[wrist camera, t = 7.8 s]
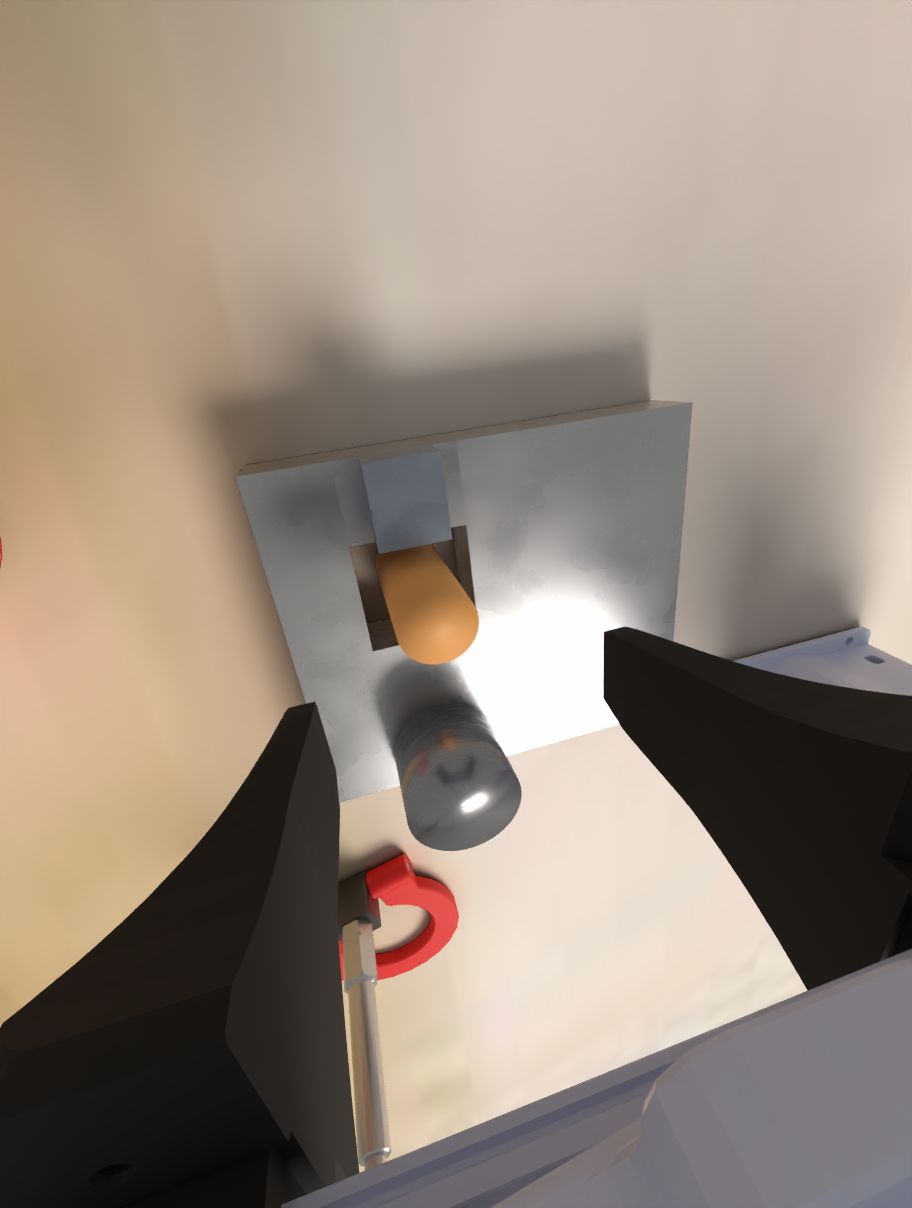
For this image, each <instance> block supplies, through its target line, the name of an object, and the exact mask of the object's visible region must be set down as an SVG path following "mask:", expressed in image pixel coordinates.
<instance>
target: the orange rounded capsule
mask: <svg viewBox="0 0 912 1208" xmlns="http://www.w3.org/2000/svg"><path fill="white" fill-rule="evenodd" d="M376 570H377V574H378V578H379V581H380V584H381V587H382V591H383V594H384V597H385V601H386V604H387V607H388V611H389V614H390V617H391V621H392V624H393V627H394V631H395V634H396V637H397V641H398V643H399V645H400V647H401V649H402V650H403V651H404V653H405V654H406V655H408V656H409V657H410V658H412V659H413V660H415V661H417V662H420V663H424V664H443V663H446V662H449V661H452V660H454V659H456V658H458V657H459V656H461V655H462V654H463V653H464V652H466V651H467V650H468V648H469V647H470V646H471V645H472V643H473V642H474V640H475V638H476V635H477V633H478V628H479V616H478V612H477V609H476V607H475V605H474V604H473V602H472V601H471V599H470V598H469V596H468V595H467V594H466V592H465V591H464V589H463V588H462V586H461V585H460V584H459V582H458V581H457V579H456V578H455V576H454V575H453V574H452V572H451V571H450V569H449V568H448V566H447V565H446V563H445V562H444V561H443V559H442V558H441V556H440V555H439V553H438V552H437V551H436V549H435V548H434V546H433V545H432V544H427V545H422V546H417V547H412V548H407V549H402V550H396V551H391V552H386V553H381V554H379V552H378V555H377V559H376Z"/></svg>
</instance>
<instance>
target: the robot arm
mask: <svg viewBox="0 0 912 1208" xmlns="http://www.w3.org/2000/svg"><path fill="white" fill-rule="evenodd" d="M869 638H870V630H869V629H867V628H864V627H857V628H853V629H850V630H846V631H842V632H839V633H835V634H831V635H827V636H824V637H820V638H816V639H812V640H809V641H805V642H801V643H798V644H794V645H790V646H786V647H783V648H779V649H775V650H771V651H768V652H764V653H760V654H756V655H753V656H749V657H745V658H742V659H738V660H734V661H730V660H727V659H724V658H721V657H717V656H714V655H711V654H708V653H705V652H702V651H699V650H696V649H693V648H690V647H688V646H685V645H682V644H679V643H676V642H673V641H670V640H667V639H665V638H662V637H659V636H656V635H653V634H650V633H647V632H644V631H641V630H637V629H634V628H630V627H626V626H625V627H621V628H617V629H613V630H609V631H605V632H604V645H603V699H604V700H605V702H606V703H607V705H608V707H609V708H610V710H611V712H612V713H613V715H614V716H615V718H616V719H617V721H618V722H619V724H620V725H621V727H622V728H623V730H624V731H625V732H626V733H627V735H628V736H629V737H630V738H631V739H632V740H633V742H634V743H635V744H636V745H637V746H638V748H639V749H640V750H641V751H642V752H643V753H644V755H645V756H646V757H647V758H648V759H649V760H650V761H651V763H652V764H653V765H654V766H655V767H656V768H657V769H658V771H659V772H660V773H661V774H662V775H663V776H664V778H665V779H666V780H667V781H668V782H669V783H670V784H671V786H672V787H673V788H674V789H675V790H676V791H677V792H678V794H679V795H680V796H681V797H682V798H683V800H684V801H685V802H686V803H687V805H688V806H689V807H690V808H691V810H692V811H693V812H694V813H695V815H696V816H697V817H698V819H699V820H700V822H701V823H702V825H703V826H704V827H705V829H706V830H707V832H708V833H709V834H710V836H711V837H712V839H713V840H714V842H715V843H716V844H717V846H718V847H719V849H720V850H721V852H722V853H723V855H724V856H725V858H726V859H727V861H728V862H729V864H730V865H731V867H732V868H733V870H734V871H735V873H736V874H737V876H738V877H739V879H740V880H741V882H742V883H743V885H744V886H745V888H746V889H747V891H748V892H749V894H750V895H751V897H752V899H753V900H754V902H755V903H756V905H757V907H758V908H759V910H760V911H761V913H762V915H763V916H764V918H765V919H766V921H767V923H768V924H769V926H770V927H771V929H772V931H773V932H774V934H775V935H776V937H777V939H778V940H779V942H780V944H781V946H782V947H783V949H784V951H785V952H786V954H787V956H788V958H789V959H790V961H791V963H792V964H793V966H794V968H795V970H796V971H797V973H798V975H799V976H800V978H801V980H802V982H803V983H804V985H805V987H806V988H807V990H808V991H806V992H804V993H801V994H799V995H796V996H794V997H791V998H789V999H786V1000H784V1001H781V1002H779V1003H777V1004H774V1005H772V1006H769V1007H767V1008H764V1009H762V1010H759V1011H757V1012H754V1013H752V1014H750V1015H747V1016H745V1017H742V1018H740V1019H737V1020H735V1021H732V1022H730V1023H727V1024H725V1025H722V1026H720V1027H718V1028H715V1029H713V1030H710V1031H708V1032H705V1033H703V1034H700V1035H698V1036H695V1037H693V1038H690V1039H688V1040H686V1041H683V1042H681V1043H678V1044H676V1045H673V1046H671V1047H668V1048H666V1049H663V1050H661V1051H658V1052H656V1053H654V1054H651V1055H649V1056H646V1057H644V1058H641V1059H639V1060H636V1061H634V1062H631V1063H629V1064H626V1065H624V1066H622V1067H619V1068H617V1069H614V1070H612V1071H609V1072H607V1073H604V1074H602V1075H599V1076H597V1077H594V1078H592V1079H590V1080H587V1081H585V1082H582V1083H580V1084H577V1085H575V1086H572V1087H570V1088H567V1089H565V1090H562V1091H560V1092H558V1093H555V1094H553V1095H550V1096H548V1097H545V1098H543V1099H540V1100H538V1101H535V1102H533V1103H530V1104H528V1105H526V1106H523V1107H521V1108H518V1109H516V1110H513V1111H511V1112H508V1113H506V1114H503V1115H501V1116H498V1117H496V1118H494V1119H491V1120H489V1121H486V1122H484V1123H481V1124H479V1125H476V1126H474V1127H471V1128H469V1129H467V1130H464V1131H462V1132H459V1133H457V1134H454V1135H452V1136H449V1137H447V1138H444V1139H442V1140H439V1141H437V1142H435V1143H432V1144H430V1145H427V1146H425V1147H422V1148H420V1149H417V1150H415V1151H412V1152H410V1153H407V1154H405V1155H403V1156H400V1157H398V1158H395V1159H393V1160H390V1161H388V1162H385V1163H383V1164H380V1165H378V1166H375V1167H373V1168H371V1169H368V1170H366V1171H363V1172H361V1173H359V1165H358V1156H357V1146H356V1136H355V1126H354V1117H353V1107H352V1097H351V1086H350V1075H349V1064H348V1053H347V1042H346V1030H345V1018H344V1005H343V993H342V981H341V967H340V952H339V938H338V906H337V905H338V868H339V828H340V805H339V794H338V784H337V775H336V768H335V764H334V761H333V758H332V754H331V751H330V748H329V745H328V741H327V738H326V735H325V731H324V728H323V725H322V721H321V718H320V715H319V711H318V708H317V705H316V702H312V703H307V704H303V705H299V706H295V707H291V708H288V709H287V711H286V712H285V714H284V716H283V717H282V719H281V721H280V723H279V724H278V726H277V728H276V730H275V732H274V733H273V735H272V737H271V739H270V740H269V742H268V744H267V746H266V747H265V749H264V751H263V752H262V754H261V756H260V757H259V759H258V761H257V762H256V764H255V765H254V767H253V769H252V770H251V772H250V773H249V775H248V777H247V778H246V780H245V781H244V783H243V784H242V785H241V787H240V788H239V790H238V791H237V793H236V794H235V796H234V797H233V798H232V800H231V801H230V803H229V804H228V806H227V807H226V809H225V810H224V811H223V813H222V814H221V815H220V817H219V818H218V819H217V821H216V822H215V823H214V824H213V826H212V827H211V828H210V829H209V831H208V832H207V833H206V834H205V835H204V837H203V838H202V839H201V840H200V841H199V843H198V844H197V845H196V846H195V847H194V849H193V850H192V851H191V852H190V853H189V854H188V855H187V857H186V858H185V859H184V860H183V861H182V862H181V863H180V864H179V865H178V866H177V867H176V868H175V869H174V870H173V871H172V872H171V873H170V875H169V876H168V877H167V878H166V879H165V880H164V881H163V882H162V883H161V884H160V885H159V886H158V887H157V888H156V889H155V890H154V891H153V892H152V894H151V895H150V896H149V897H148V898H147V899H146V900H145V901H144V902H143V903H142V904H141V905H139V906H138V907H137V908H136V909H135V910H134V911H133V912H132V913H131V914H130V915H129V916H128V917H127V918H126V919H125V920H124V921H123V922H122V923H121V924H120V925H118V926H117V927H116V928H115V929H114V930H113V931H112V932H111V933H110V934H109V935H107V936H106V937H105V938H104V939H103V940H102V941H101V942H100V943H99V944H98V945H96V946H95V947H94V948H93V949H92V950H91V951H90V952H89V953H87V954H86V955H85V956H84V957H83V958H82V959H81V960H79V961H78V962H77V963H76V964H75V965H73V966H72V967H71V968H70V969H69V970H67V971H66V972H65V973H64V974H63V975H61V976H60V977H59V978H58V979H56V980H55V981H54V982H53V983H52V984H50V985H49V986H48V987H47V988H46V989H44V990H43V991H42V992H41V993H40V994H38V995H37V996H36V997H35V998H33V999H32V1000H31V1001H30V1002H29V1003H27V1004H26V1005H25V1006H24V1007H23V1008H21V1009H20V1010H19V1011H18V1012H16V1013H15V1014H14V1015H13V1016H11V1017H10V1018H9V1019H7V1020H6V1021H5V1022H4V1023H3V1024H2V1026H1V1028H0V1208H912V665H911V664H909V663H907V662H904V661H902V660H900V659H898V658H896V657H894V656H892V655H890V654H888V653H886V652H884V651H881V650H879V649H877V648H875V647H873V646H871V645H869V644H868V641H869Z"/></svg>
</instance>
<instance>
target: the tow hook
mask: <svg viewBox="0 0 912 1208" xmlns="http://www.w3.org/2000/svg"><path fill="white" fill-rule="evenodd" d="M379 897H380V898H381V899H382V901H383V902H384V903H385V904H386V905H390V906H393V905H414V906H419V907H421V908H423V909H425V910H427V911H428V912H429V913H430V914H431V915H432V916H431V921H430V923H429V925H428V927H427V929H426V930H425V931H424V932H423V933H422V934H421V935H420V936H419V937H417V938H416V939H415V940H414V941H412V942H411V943H409V944H407V945H405V946H403V947H401V948H399V949H396V950H393V951H390V952H386V953H381V954H375V948H374V939H373V931H374V930H376V929H378V928H380V927H381V919H380V911H379V903H378V898H379ZM337 906H338V938H339V952H340V967H341V980H344V991H345V993H347V994H348V998H349V1014H350V1031H351V1048H352V1064H353V1081H354V1098H355V1114H356V1131H357V1148H358V1163H359V1164H360V1165H361V1166H365V1171H366V1170H368V1169H371V1168H373V1167H375V1166H378V1165H380V1164H383V1163H385V1162H386V1159H387V1158H388V1157H389V1155H390V1153H391V1145H390V1135H389V1125H388V1115H387V1105H386V1096H385V1086H384V1076H383V1066H382V1056H381V1046H380V1037H379V1027H378V1017H377V1007H376V997H375V986H376V984H377V980H380V979H385V978H389V977H393V976H396V975H399V974H401V973H404V972H407V971H410V970H412V969H413V968H415V967H417V966H419V965H421V964H423V963H425V962H426V961H428V960H429V959H430V958H432V957H433V956H434V955H436V954H437V953H438V952H439V951H440V950H441V949H442V948H443V947H444V946H445V945H446V944H447V943H448V942H449V940H450V939H451V937H452V935H453V934H454V932H455V930H456V928H457V923H458V918H459V915H458V911H457V907H456V903H455V899H454V896H453V894H452V893H451V892H450V891H449V890H448V888H447V887H446V886H444V885H442V884H441V883H439V882H437V881H435V880H432V879H428V878H424V877H419V876H415V874H414V872H413V868H412V865H411V862H410V860H409V858H408V857H407V855H406V854H403V855H401V856H399V857H397V858H395V859H393V860H390V861H388V862H386V863H384V864H382V865H380V866H378V867H376V868H374V869H372V870H370V871H364V872H362V873H360V874H358V875H356V876H353V877H351V878H349V879H347V880H345V881H343V882H341V883H339V884H338V905H337ZM340 942H341V943H342V945H341V943H340Z"/></svg>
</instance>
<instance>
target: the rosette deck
mask: <svg viewBox="0 0 912 1208" xmlns="http://www.w3.org/2000/svg"><path fill="white" fill-rule="evenodd" d="M691 411H692V402H674V401H655V400H650V401H644V402H637V403H631V404H625V405H619V406H612V407H606V408H600V409H594V410H587V411H581V412H575V413H569V414H562V415H556V416H550V417H543V418H537V419H531V420H525V421H518V422H512V423H506V424H500V425H493V426H487V427H481V428H475V429H468V430H462V431H456V432H449V433H443V434H437V435H431V436H424V437H418V438H412V439H406V440H399V441H393V442H387V443H381V444H374V445H368V446H362V447H356V448H349V449H343V450H337V451H330V452H324V453H318V454H312V455H305V456H299V457H293V458H287V459H280V460H274V461H268V462H262V463H255V464H249V465H245V466H244V468H243V469H242V470H241V471H240V472H239V473H238V474H237V475H236V476H235V478H236V482H237V485H238V488H239V491H240V494H241V498H242V501H243V504H244V507H245V510H246V514H247V517H248V520H249V523H250V526H251V529H252V533H253V536H254V539H255V542H256V545H257V549H258V552H259V555H260V558H261V561H262V565H263V568H264V571H265V574H266V577H267V581H268V584H269V587H270V590H271V593H272V597H273V600H274V603H275V606H276V609H277V613H278V616H279V619H280V622H281V625H282V628H283V632H284V635H285V638H286V641H287V644H288V648H289V651H290V654H291V657H292V660H293V664H294V667H295V670H296V673H297V676H298V680H299V683H300V686H301V689H302V692H303V696H304V699H305V702H306V704H307V703H312V702H316V705H317V708H318V711H319V715H320V718H321V721H322V725H323V728H324V731H325V735H326V738H327V741H328V745H329V748H330V751H331V754H332V758H333V761H334V764H335V768H336V775H337V784H338V794H339V803H340V802H343V801H347V800H351V799H354V798H358V797H361V796H365V795H368V794H372V793H375V792H379V791H383V790H386V789H390V788H393V787H397V786H400V787H401V792H402V797H403V802H404V807H405V812H406V817H407V822H408V826H409V829H410V831H411V833H412V835H413V836H414V837H415V838H416V839H417V840H418V841H419V842H420V843H422V844H424V845H425V846H428V847H430V848H433V849H437V850H443V851H457V850H464V849H468V848H472V847H475V846H477V845H480V844H482V843H484V842H486V841H488V840H490V839H492V838H493V837H495V836H496V835H497V834H499V833H500V832H501V831H502V830H503V829H504V828H505V827H506V826H507V825H508V824H509V823H510V822H511V820H512V819H513V818H514V816H515V814H516V813H517V810H518V808H519V805H520V802H521V786H520V783H519V780H518V778H517V776H516V774H515V772H514V770H513V768H512V766H511V764H510V762H509V760H508V758H507V755H511V754H515V753H518V752H522V751H525V750H529V749H532V748H536V747H539V746H543V745H547V744H550V743H554V742H557V741H561V740H564V739H568V738H572V737H575V736H579V735H582V734H586V733H589V732H593V731H596V730H600V729H604V728H607V727H611V726H614V725H618V724H619V722H618V721H617V719H616V718H615V716H614V715H613V713H612V712H611V710H610V708H609V707H608V705H607V703H606V702H605V700H604V699H603V645H604V632H605V631H609V630H613V629H617V628H621V627H625V626H626V627H630V628H634V629H637V630H641V631H644V632H647V633H650V634H653V635H656V636H659V637H662V638H665V639H667V640H670V641H673V635H674V623H675V610H676V598H677V585H678V573H679V560H680V548H681V535H682V523H683V510H684V498H685V486H686V473H687V461H688V448H689V436H690V423H691ZM451 528H453V536H454V544H455V551H456V559H457V567H458V575H459V582H460V585H461V586H462V588H463V589H464V591H465V592H466V594H467V595H468V596H469V598H470V599H471V601H472V602H473V604H474V605H475V607H476V609H477V612H478V616H479V628H478V633H477V635H476V638H475V640H474V642H473V643H472V645H471V646H470V647H469V648H468V650H467V651H466V652H464V653H463V654H462V655H461V656H459V657H458V658H456V659H454V660H452V661H449V662H446V663H443V664H424V663H420V662H417V661H415V660H413V659H412V658H410V657H409V656H408V655H406V654H405V653H404V651H403V650H402V649H401V647H400V645H399V643H398V641H397V637H396V634H395V631H394V627H393V624H392V621H391V618H388V619H384V620H379V621H375V622H370V623H367V620H366V615H365V611H364V607H363V602H362V598H361V593H360V589H359V585H358V580H357V576H356V571H355V567H354V563H353V558H352V554H351V549H350V547H354V546H359V545H364V544H370V543H375V542H376V545H377V548H378V551H379V554H381V553H386V552H391V551H396V550H402V549H407V548H412V547H417V546H422V545H427V544H432V543H437V542H442V541H447V540H452V533H451Z"/></svg>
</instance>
